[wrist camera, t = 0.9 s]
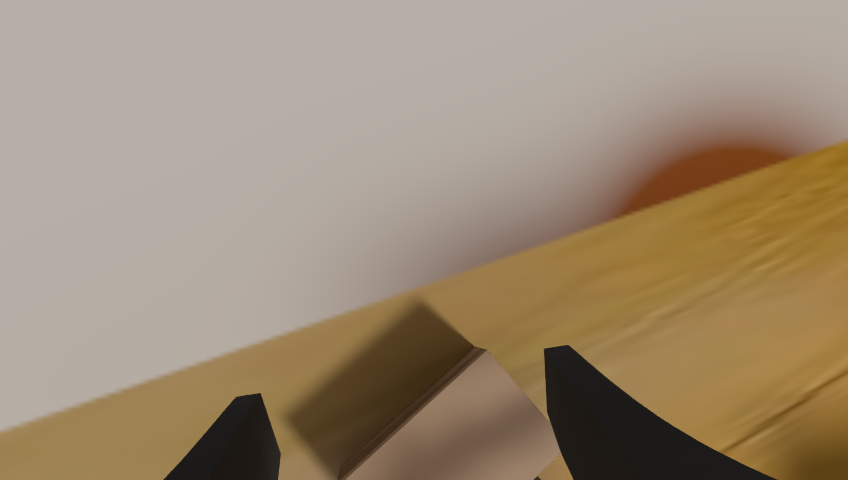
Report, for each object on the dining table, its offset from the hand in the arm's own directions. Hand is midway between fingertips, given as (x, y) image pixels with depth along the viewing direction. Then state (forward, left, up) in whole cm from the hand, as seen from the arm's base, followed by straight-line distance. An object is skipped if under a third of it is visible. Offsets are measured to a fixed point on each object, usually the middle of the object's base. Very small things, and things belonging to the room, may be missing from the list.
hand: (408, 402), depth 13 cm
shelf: (-7, +1, -23) cm, 24 cm away
